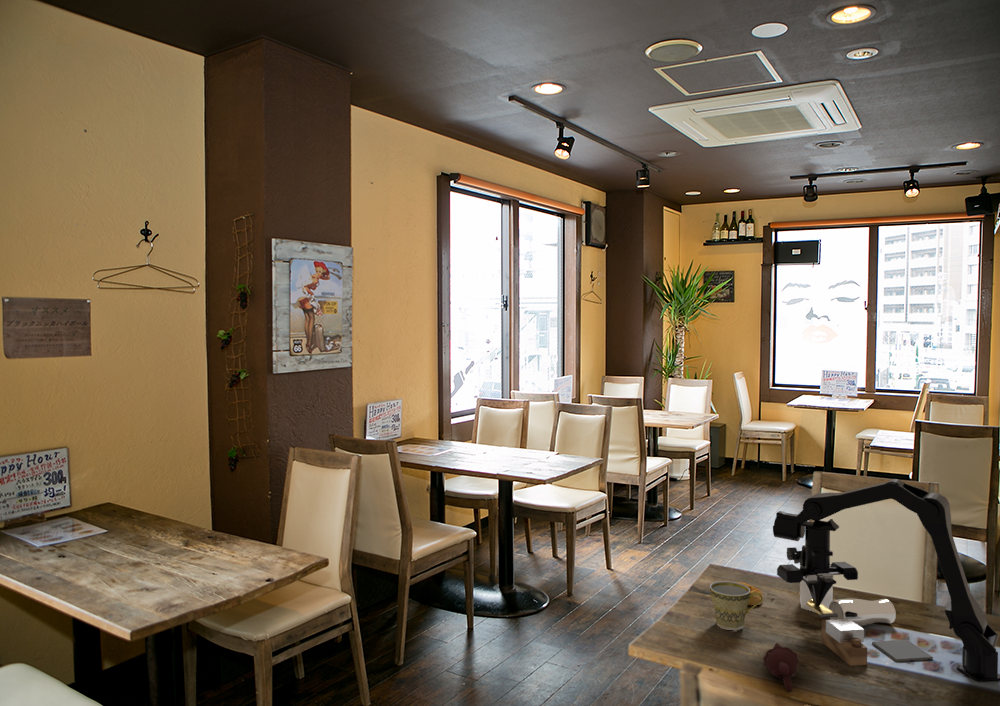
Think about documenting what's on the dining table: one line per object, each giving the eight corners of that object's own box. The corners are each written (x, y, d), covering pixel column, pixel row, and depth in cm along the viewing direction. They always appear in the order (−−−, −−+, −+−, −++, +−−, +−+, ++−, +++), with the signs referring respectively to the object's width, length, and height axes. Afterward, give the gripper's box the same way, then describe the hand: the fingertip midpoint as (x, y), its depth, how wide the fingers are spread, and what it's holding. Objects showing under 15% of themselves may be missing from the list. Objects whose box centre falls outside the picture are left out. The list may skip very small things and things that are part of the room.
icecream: (756, 632, 165) (764, 668, 150) (789, 627, 163) (800, 663, 148) (764, 659, 165) (772, 698, 151) (796, 655, 163) (808, 694, 149)
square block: (863, 642, 164) (864, 629, 164) (840, 643, 164) (840, 630, 163) (848, 630, 170) (848, 618, 170) (825, 632, 170) (825, 619, 169)
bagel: (752, 611, 192) (752, 593, 192) (716, 600, 200) (716, 583, 200) (769, 601, 199) (769, 584, 199) (734, 591, 207) (734, 575, 207)
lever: (838, 619, 173) (838, 611, 173) (821, 620, 173) (821, 612, 173) (817, 605, 182) (817, 597, 182) (802, 605, 182) (802, 598, 182)
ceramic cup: (710, 632, 179) (710, 593, 179) (708, 616, 189) (708, 579, 188) (764, 637, 176) (764, 598, 176) (759, 620, 186) (760, 583, 185)
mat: (932, 659, 164) (932, 656, 164) (896, 661, 163) (896, 659, 163) (906, 641, 173) (906, 639, 173) (872, 644, 172) (872, 641, 172)
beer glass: (900, 610, 179) (848, 613, 177) (891, 631, 182) (839, 634, 180) (883, 591, 186) (832, 593, 183) (874, 610, 188) (824, 613, 186)
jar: (798, 599, 200) (799, 557, 199) (830, 602, 197) (830, 560, 196) (800, 611, 191) (801, 568, 191) (833, 615, 188) (834, 571, 188)
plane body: (867, 664, 162) (867, 640, 161) (850, 665, 161) (850, 641, 161) (837, 641, 173) (837, 618, 173) (821, 642, 173) (821, 619, 173)
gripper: (834, 533, 187) (833, 591, 188) (766, 536, 185) (766, 595, 186) (859, 546, 176) (859, 608, 177) (788, 550, 174) (787, 612, 175)
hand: (816, 605), depth 179 cm, fingers closed, pressing on lever
